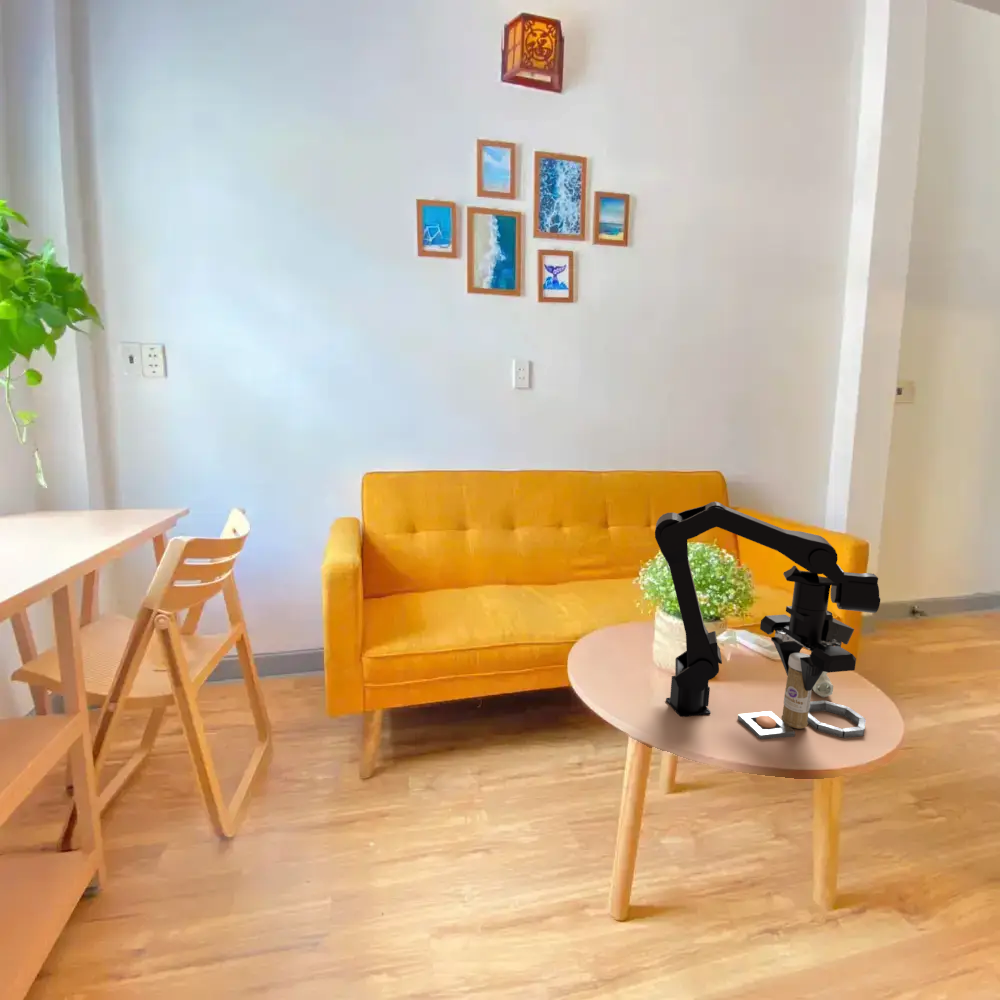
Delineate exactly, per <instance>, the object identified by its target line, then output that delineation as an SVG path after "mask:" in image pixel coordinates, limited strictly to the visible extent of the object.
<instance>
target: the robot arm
mask: <svg viewBox="0 0 1000 1000" xmlns="http://www.w3.org/2000/svg"><path fill="white" fill-rule="evenodd" d="M715 528H720V529H721V530H724V531H727V532H729V533H732V534H734V535H737V536H739V537H742V538H744V539H747V540H749V541H752V542H753V543H757V544H759V545H761V546H764V547H766V548H769V549H771V550H774V551H776V552H778V553H779V554H782V555H783V556H785V557H786V558H788V559H789V560H790V561H792V562H793V563H794V564H797V566H799V567H801V568H803V569H804V570H800V569H798V567H797V566H796V565H792V567H791V568H789V569H788V570H786V571H784V572H782V573H783V576H784V579H785V580H786V581H787V582H792V583H793V582H794V583H793V585H794V586H793V593H792V601H791V606H789V605H786V607H785V612H786V613H788V614H790V616H788V615H787V614H774V615H772V614H771V615H764V616H763V618H762V619H760V626H759V627H760V628H759V630H760V631H762V632H764V633H765V634H767V635H772V634H773V633H775V634H774V636H773V637H770V640H771V642H772V643H773V645H774V647H775V648H776V651H777V653H778V656H779V657H780V660H781V664H782V665H783V668H784V670H785V674H786V676H787V677H788V669H789V665H788V661H789V655H790V654H792V653H801V650H802V649H803V648H805V649H806V650H807V651H808V650H809V651H810V654H809V655H810V656H809V657H803V658H800V662H801V669H802V677H803V684H804V688H805V690H806V691H810V690H813V689H812V688H813V687H814V685H815V683H816V682H817V680H818V679H819V677H820V675H821V674H822V673H823V671H824V672H828V673H838V672H839V673H840V672H849V671H850V672H852V671H855V670H856V663H857V657H856V656H855V655H854V654H853V653H851V652H850V651H849V650H847V649H844V648H843V647H839V646H827V647H825V646H823V645H822V644H821V643H822V642H823V641H825V642H832V639H835V640H838V641H841V642H842V644H843V645H848V644H849V641H850V640H851V637H852V636H853V634H854V632H855V628H853V627H852V626H850V625H847V624H846V623H844V622H842V621H840V620H838V619H836V618H834V616H833V613H832V611H829V610H828V605H829V598H830V601H831V602H832V603H833V604H835V605H836V607H837V609H838V610H843V611H844V610H845V611H853V612H862V613H863V612H864V613H872V614H876V613H877V612H878V611H879V608H880V605H881V597H880V588H879V584H878V583H879V577H878V576H877V575H876V574H875V573H871V572H870V573H869V572H868V573H867V572H866V573H865V572H864V573H857V572H847V571H844V570H843V568H841V566H840V565H839V564H838V553H837V551H836V549H835V548H834V546H832V544H831V543H830V542H829V541H828V540H827V539H826V538H825V537H823V536H821V535H819V534H813V533H811V532H804V531H800V530H790V529H786V528H785V529H784V528H781V527H779V526H777V525H773V524H771V523H768V522H766V521H764V520H761V519H758V518H757V517H754V516H751V515H749V514H746V513H744V512H741V511H739V510H736V509H733V508H730V507H728V506H726V505H724V504H723V503H721V502H718V501H711V502H709V503H707V504H704V505H702V506H698V507H694V508H690V509H686V510H684V511H681V512H678V513H676V512H666V513H663V514H662V515H661V516H659V518H658V519H657V521H656V524H655V528H654V530H655V531H654V538H655V541H656V543H657V544H658V545H657V546H658V547H659V549H660V552H661V554H662V556H663V558H664V560H665V561H666V563H667V565H668V568H669V570H670V575H671V578H672V582H673V583H672V584H673V587H674V590H675V596H676V600H677V604H678V607H679V611H680V612H679V613H680V615H681V619H682V624H683V628H684V632H685V645H686V646H685V647H686V651H684V652H682V653H681V654H680V655H678V656H677V657H675V666H674V667H675V668H674V669H675V671H674V675H672V676H671V683H670V695H669V697H666V698H665V701H666V703H667V704H668V705H669V707H671V709H673V711H674V712H676V714H677V715H678V716H679V717H682V718H684V717H696V716H705V715H711V710H710V709H709V708H708V706H709V703H710V702H709V701H710V692H711V691H710V690H711V688H710V686H709V683H710V682H709V681H710V680H712V679H714V678H715V677H716V676H717V675H718V674H719V671H720V665H722V664H723V661H722V660H723V659H722V652H721V648H720V647H719V645H718V639H717V632H716V631H715V630H713V631H710V632H709V631H708V629H707V627H706V625H705V622H704V619H703V615H702V614H703V613H702V611H701V606H700V602H699V598H698V595H697V589H696V586H695V582H694V578H693V573H692V568H691V565H690V562H689V561H690V560H689V550H688V547H689V546H688V541H689V540H690V539H693V538H696V537H698V536H699V535H701V534H704V533H705V532H707V531H710V530H711V529H715ZM820 575H824V576H820ZM828 673H827V674H828Z"/></svg>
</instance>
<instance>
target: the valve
mask: <svg viewBox="0 0 1000 1000" xmlns="http://www.w3.org/2000/svg"><path fill="white" fill-rule="evenodd" d="M821 644H822V645H823V646H825V647H827V646H839V647H841V646H842V644H843V642H841V641H838V640H835V639H832V642H825V641H823V642H822V643H821ZM841 648H842V647H841ZM827 674H828V672H824V671H823V673H822V674H821V675H820V677H819V679H818V680H817V682H816V683H815V685H814V687H813V688H812V690H813V692H814V693H815V694H817V695H818V696H820V697H821V698H827V697H829V696H831V695H833V692H834V684H832V683H833V682H832V681H831V679H830V677H829V676H828V675H827Z"/></svg>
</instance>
